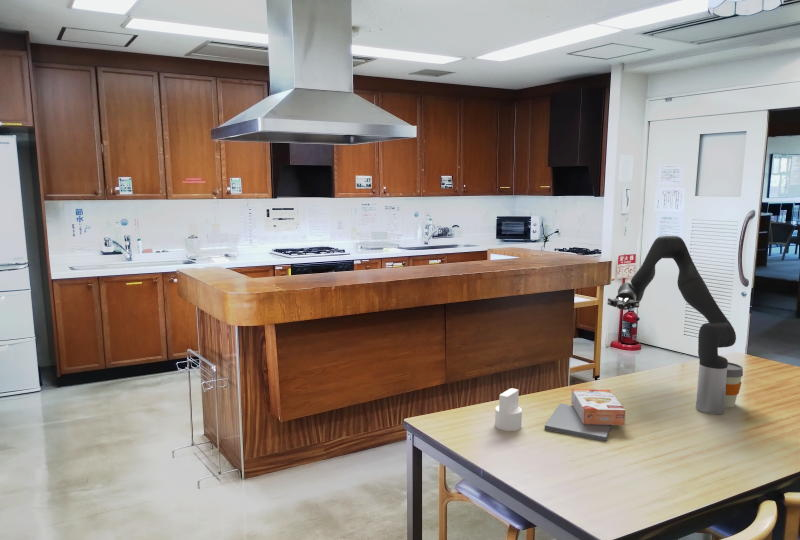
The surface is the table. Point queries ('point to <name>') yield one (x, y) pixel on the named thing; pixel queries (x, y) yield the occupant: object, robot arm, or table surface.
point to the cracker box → (597, 407)
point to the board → (575, 424)
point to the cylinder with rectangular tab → (508, 411)
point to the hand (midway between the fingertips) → (620, 306)
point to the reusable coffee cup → (733, 383)
